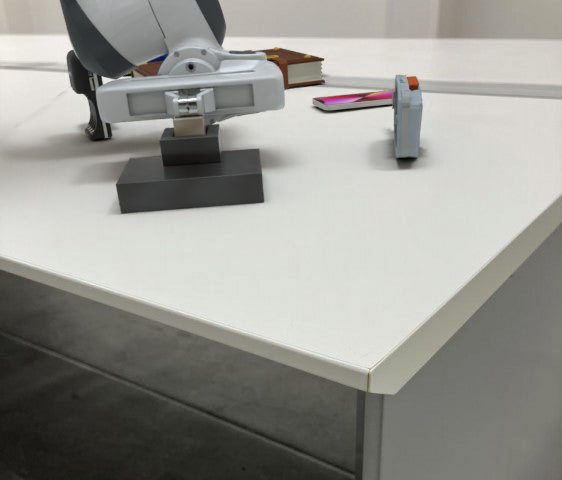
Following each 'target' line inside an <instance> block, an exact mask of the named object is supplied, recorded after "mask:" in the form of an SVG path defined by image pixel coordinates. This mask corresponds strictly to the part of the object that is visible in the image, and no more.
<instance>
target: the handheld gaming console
mask: <svg viewBox="0 0 562 480" xmlns="http://www.w3.org/2000/svg"><path fill="white" fill-rule="evenodd" d="M391 90H392V91H393V90H395V91H393V93H392V104H391V110H393V145H394V156H395V159H408V160H409V159H410V158H414V159H415V158H419V151H420V144H421V129H422V120H423V109H424V104H423V96H422V89H421V86H420V82H419V80H418V77H417V76H416V75H415V76H414V75H413V76H407V74H395V77H394V89H391Z"/></svg>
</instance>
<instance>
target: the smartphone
mask: <svg viewBox="0 0 562 480" xmlns="http://www.w3.org/2000/svg"><path fill="white" fill-rule="evenodd" d="M392 90H393V91H395V89H388V90H379V91H378V90H377V91H370V92H369V91H368V92H359V93H348V94H347V93H346V94H339V95H329V96H318V97H313V98H312V105H313V106H315V107H317V108H319V109H322V110H324V111H337V110H346V109H356V108H357V109H358V108H366V107H378V106H385V105H387V106H388V105H392V93H393V91H392Z"/></svg>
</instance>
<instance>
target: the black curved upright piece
mask: <svg viewBox="0 0 562 480" xmlns="http://www.w3.org/2000/svg"><path fill="white" fill-rule="evenodd" d="M65 59H66V67H67V72H68V78H69V83H70V87H71V88H72V91H74V93H75V94H76V95H84V96H85V98H86V99H87V102H88V103H87V104H88V108H89V120H88V124H87V126H86V127H85V128H84V132H85V135H86V136H87V137H88V139H90V140H93V139H95V140H102V139H101V138H104V139H105V138H108V139H109V137H110V138H112V137H113V132H112V126H111V123H106V122H103V121H102V120H101V118H100V114H99V109H98V105H97V99H96V89H97V88H98V87H100V86H102V85H103V84H104V81H103V76H100V75H97V74H95V73H92V72H90V71H88V70H87V69H85V68H84V66H83V65H82V64H81V62H80V60H79V59H78V57H77V56H76V54H75V52H74V50H73V49H71V50H69V51H68V52H67V54H66V58H65Z"/></svg>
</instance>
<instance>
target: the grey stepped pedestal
mask: <svg viewBox="0 0 562 480" xmlns="http://www.w3.org/2000/svg"><path fill="white" fill-rule="evenodd" d="M205 128H206V134H205V135H191V136H178V137H175V133H174V126H173V127H164V128H163V132H162V134H161V136H160V139H159V140H158V141H159V147H160V155H155V156H142V157H140V156H139V157H130V158H129V159H128V161H127V163H126V165H125V167H124V168H123V170H122V171H121V174H120V175H119V177H118V179H117V181H116V182H115V189H116V194H117V198H118V204H119V210H120V213H121V214H133V213H147V212H159V211H171V210H172V211H173V210H183V209H196V208H197V209H199V208H210V207H224V206H225V207H226V206H236V205H237V206H238V205H248V204H250V205H251V204H261V203H265V194H264V181H263V180H264V179H263V170H262V160H261V152H260V151H261V150H260V148H247V149H235V150H233V149H232V150H223V144H222V135H221V126H220V124H219V123H214V124H212V125H205Z"/></svg>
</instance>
